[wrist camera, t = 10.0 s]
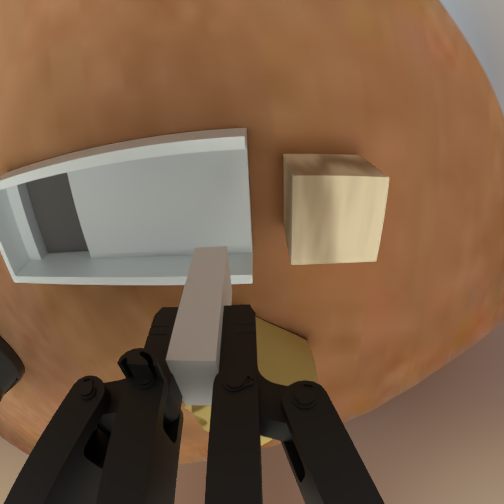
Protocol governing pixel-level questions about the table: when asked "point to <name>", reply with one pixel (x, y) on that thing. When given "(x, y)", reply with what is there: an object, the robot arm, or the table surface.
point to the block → (333, 208)
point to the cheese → (273, 364)
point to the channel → (129, 211)
